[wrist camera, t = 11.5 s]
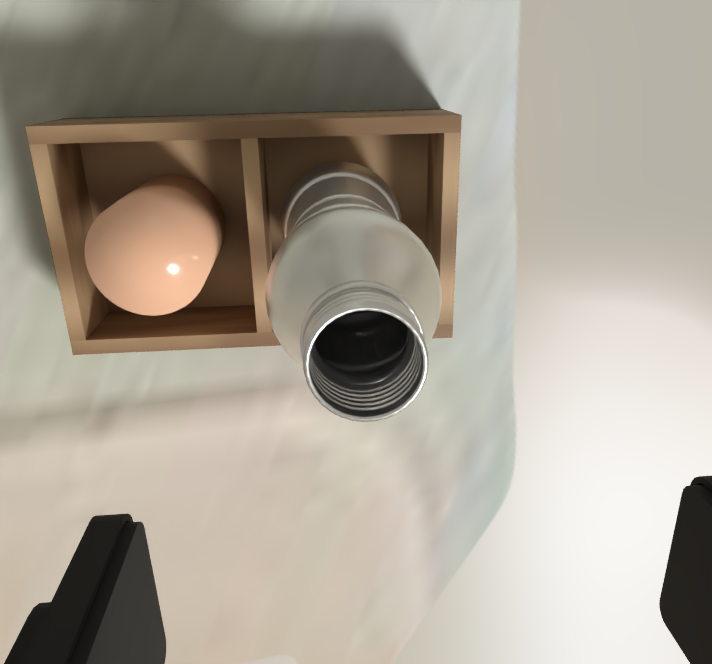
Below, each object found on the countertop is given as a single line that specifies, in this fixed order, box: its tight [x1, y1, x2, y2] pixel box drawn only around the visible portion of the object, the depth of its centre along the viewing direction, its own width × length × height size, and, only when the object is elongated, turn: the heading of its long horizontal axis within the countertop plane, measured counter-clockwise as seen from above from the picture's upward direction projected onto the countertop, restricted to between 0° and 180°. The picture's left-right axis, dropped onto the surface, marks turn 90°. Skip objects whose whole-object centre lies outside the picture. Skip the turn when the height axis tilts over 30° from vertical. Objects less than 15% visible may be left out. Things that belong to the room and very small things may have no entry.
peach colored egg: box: [85, 174, 226, 316], centre depth 33 cm, size 6×6×7 cm
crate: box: [25, 109, 461, 355], centre depth 35 cm, size 12×20×5 cm, turn 91°
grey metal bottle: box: [265, 161, 442, 422], centre depth 27 cm, size 6×7×20 cm
